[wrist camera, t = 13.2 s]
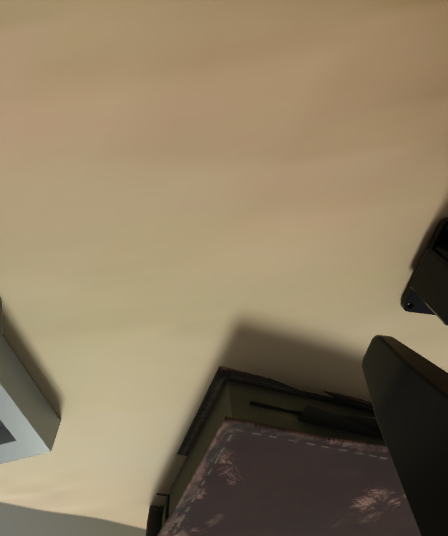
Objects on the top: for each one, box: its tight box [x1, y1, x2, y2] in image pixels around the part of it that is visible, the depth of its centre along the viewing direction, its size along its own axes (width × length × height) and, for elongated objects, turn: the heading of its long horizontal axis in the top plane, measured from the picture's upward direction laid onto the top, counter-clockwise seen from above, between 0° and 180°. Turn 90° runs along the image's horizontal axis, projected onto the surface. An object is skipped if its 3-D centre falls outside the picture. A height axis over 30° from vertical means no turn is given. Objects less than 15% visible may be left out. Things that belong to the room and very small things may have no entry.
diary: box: [146, 366, 421, 536], centre depth 33 cm, size 19×25×5 cm
